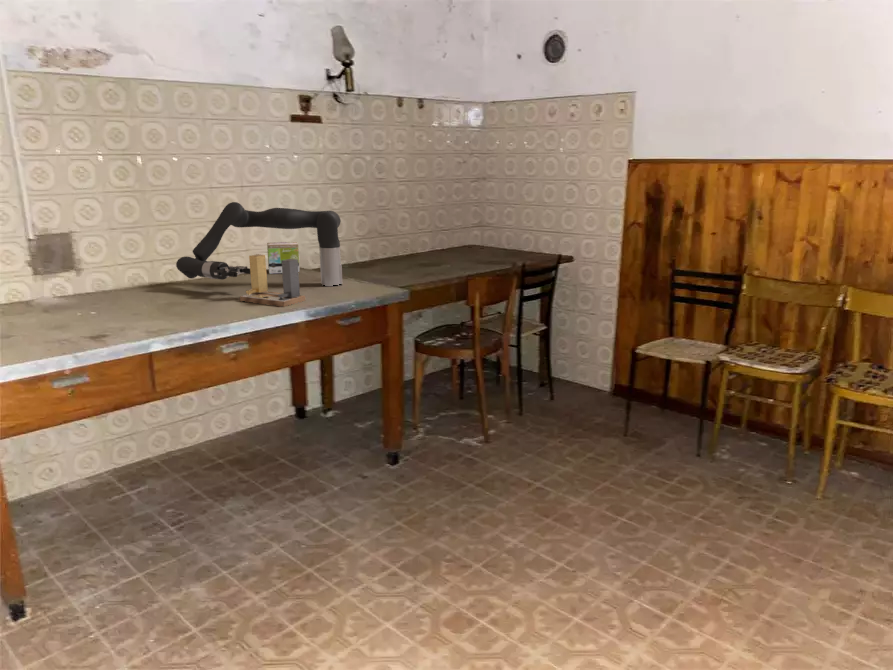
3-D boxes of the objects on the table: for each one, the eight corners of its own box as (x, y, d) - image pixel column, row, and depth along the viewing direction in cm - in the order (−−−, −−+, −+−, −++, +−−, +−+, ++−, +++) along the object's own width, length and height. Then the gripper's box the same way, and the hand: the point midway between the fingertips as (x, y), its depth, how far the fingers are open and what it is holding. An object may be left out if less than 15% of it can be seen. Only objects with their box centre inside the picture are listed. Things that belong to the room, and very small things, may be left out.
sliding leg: (244, 294, 276) (241, 257, 272) (260, 290, 284) (257, 254, 280) (251, 295, 274) (248, 257, 270) (267, 291, 282) (265, 254, 278)
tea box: (269, 274, 336) (267, 244, 332) (268, 271, 345) (266, 242, 341) (300, 272, 340) (298, 243, 336) (298, 269, 349) (296, 241, 346)
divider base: (240, 301, 275) (236, 259, 271) (262, 295, 286) (259, 255, 282) (284, 306, 265) (281, 263, 260) (305, 300, 276) (303, 259, 272)
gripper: (201, 263, 283) (230, 266, 276) (227, 259, 295) (255, 261, 288) (203, 281, 285) (232, 284, 278) (228, 276, 297) (256, 278, 290)
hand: (244, 272), depth 283 cm, fingers open, 8 cm apart
